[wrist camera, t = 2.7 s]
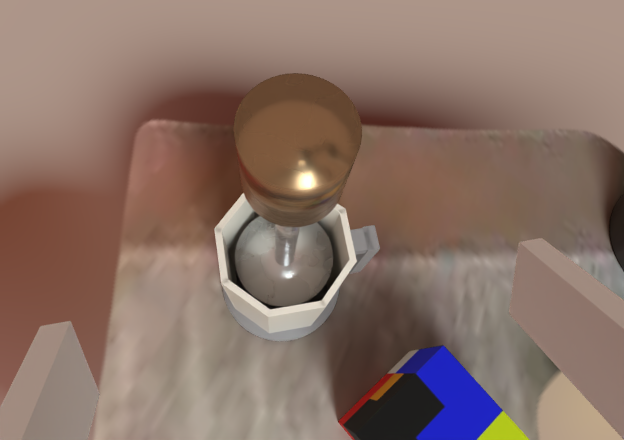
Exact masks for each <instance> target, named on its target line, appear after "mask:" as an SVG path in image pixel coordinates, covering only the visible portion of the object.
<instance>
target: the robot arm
mask: <svg viewBox="0 0 624 440" xmlns="http://www.w3.org/2000/svg"><path fill="white" fill-rule="evenodd" d="M610 236H611V242H612V246H613V249H614V252H615V255H616V257H617V259H618V261H619V263H620V265H621V267H622V268H623V270H624V194H623V195H622V196H621V197H620V199H619V200H618V201H617V203H616V205H615V207H614V209H613V212H612V215H611V221H610ZM509 314H510V315H511V316H512V318H513V319H514V320H515V321H516V322H517V323H518V324H519V325H520V326H521V327H522V329H523V330H524V331H525V332H526V333H527V334H528V335H529V336H530V337H531V338H532V340H533V341H534V342H535V343H536V344H537V345H538V346H539V347H540V348H541V349H542V350H543V352H544V353H545V354H546V355H547V356H548V357H549V358H550V359H551V360H552V361H553V363H554V364H555V365H556V366H557V367H558V368H559V369H560V370H561V371H562V372H563V374H564V375H565V376H566V377H567V378H568V379H569V380H570V381H571V382H572V383H573V384H574V385H575V387H576V388H577V389H578V390H579V391H580V392H581V393H582V394H583V395H584V397H585V398H586V399H587V400H588V401H589V402H590V403H591V404H592V405H593V406H594V408H595V409H596V410H598V412H599V413H600V414H601V415H602V416H603V417H604V419H605V420H606V421H607V422H608V423H609V424H610V425H611V426H612V427H613V428H614V429H615V431H616V432H617V433H618V434H619V435H620V436H621V437H622V438H623V439H624V300H623V299H621V298H620V297H619V296H617V295H616V294H615V293H613V292H612V291H611V290H609V289H608V288H607V287H605V286H604V285H603V284H602V283H600V282H599V281H598V280H596V279H595V278H594V277H592V276H591V275H590V274H588V273H587V272H586V271H584V270H583V269H582V268H581V267H579V266H578V265H577V264H575V263H574V262H573V261H571V260H570V259H569V258H567V257H566V256H565V255H563V254H562V253H561V252H559V251H558V250H557V249H556V248H554V247H553V246H552V245H550V244H549V243H548V242H546V241H545V240H544V239H542V238H539V239H533V240H528V241H522V242H519V246H518V252H517V259H516V266H515V273H514V280H513V287H512V294H511V301H510V308H509ZM99 395H100V394H99V391H98V389H97V386H96V384H95V381H94V379H93V376H92V374H91V371H90V369H89V366H88V364H87V361H86V359H85V356H84V354H83V351H82V349H81V346H80V344H79V341H78V339H77V336H76V333H75V331H74V329H73V326H72V323H71V321H68V322H62V323H57V324H51V325H45V326H40V329H39V331H38V333H37V335H36V336H35V338H34V340H33V343H32V345H31V346H30V349H29V351H28V352H27V355H26V357H25V359H24V361H23V363H22V365H21V367H20V369H19V371H18V373H17V375H16V377H15V379H14V381H13V383H12V385H11V387H10V389H9V391H8V393H7V395H6V397H5V399H4V401H3V403H2V405H1V407H0V440H88V436H89V432H90V428H91V425H92V421H93V417H94V414H95V410H96V406H97V402H98V399H99Z"/></svg>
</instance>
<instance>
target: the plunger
mask: <svg viewBox="0 0 624 440" xmlns="http://www.w3.org/2000/svg"><path fill="white" fill-rule="evenodd" d="M234 138H235V144H236V151H237V157H238V163H239V170H240V176H241V183H242V188H243V192H244V195H245V198H246V199H247V201H248V203H249V205H250V206H251V207H252V209H253V210H254V211H255V212H256V213H257V214H258V215H260V216H259V217H258V218H256V219H255V220H253V221H252V222H251V223H250V224H249V225H248V226H247V227H246V228H245V229H244V231H243V232H242V234H241V236H240V238H239V240H238V242H237V245H236V250H235V266H236V270H237V273H238V276H239V279H240V281H241V283H242V285H243V286H244V287H245V289H246V290H247V291H248V292H249V293H250V294H251V295H252V296H253V297H254V298H256V299H257V300H259V301H261V302H263V303H265V304H268V305H271V306H276V307H288V306H294V305H299V304H302V303H305V302H307V301H309V300H310V299H312V298H313V297H314V296H316V295H317V294H318V293H319V292H320V291H321V289H322V288H323V287H324V285H325V284H326V282H327V280H328V278H329V276H330V274H331V270H332V266H333V250H332V246H331V242H330V240H329V238H328V236H327V234H326V232H325V231H324V230H323V228H322V227H321V226H320V225H319V224H318V223H317V222H318V221H320V220H322V219H323V218H324V217H326V216H327V215H328V214H329V213H330V212H331V211H332V210H333V209H334V208H335V206H336V205H337V203H338V202H339V199H340V197H341V195H342V192H343V189H344V187H345V184H346V182H347V179H348V177H349V174H350V171H351V169H352V166H353V164H354V161H355V159H356V156H357V153H358V151H359V148H360V144H361V138H362V127H361V121H360V118H359V114H358V112H357V110H356V108H355V106H354V104H353V103H352V101H351V100H350V99H349V98H348V96H347V95H346V94H345V93H344V92H343V91H342V90H341V89H339V88H338V87H337V86H335V85H334V84H332V83H330V82H329V81H327V80H324V79H321V78H320V77H316V76H313V75H308V74H298V73H297V74H296V73H294V74H284V75H279V76H275V77H272V78H270V79H267V80H265V81H263V82H261V83H260V84H258V85H257V86H256V87H254V88H253V89H252V90H251V91H250V92H249V93H248V94H247V95H246V96H245V97H244V99H243V100H242V102H241V103H240V105H239V107H238V110H237V112H236V115H235V120H234Z"/></svg>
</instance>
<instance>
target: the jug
mask: <svg viewBox="0 0 624 440" xmlns="http://www.w3.org/2000/svg"><path fill="white" fill-rule="evenodd" d="M259 216H260V215H258V214H257V213H256V212H255V211H254V210H253V209H252V207H251V206H250V205H249V203H248V201H247V199H246V198H245V195H244V193H243V194H242V195H241V196H240V198H239V199H238V200H237V201H236V203H235V204H234V205H233V206H232V208H231V209H230V210H229V211H228V212H227V214H226V215H225V216H224V217H223V219H222V220H221V221H220V222H219V224H218V225H217V226H216V227H215V228H214V230H215V237H216V245H217V253H218V261H219V269H220V276H221V284H222V286H223V294H224V298H225V301H226V304H227V307H228V309H229V310H230V312H231V314H232V315H233V317H234V318H235V320H236V321H237V322H238V323H239V324H240V325H241V326H242V327H243V328H244V329H245V330H247V331H248V332H250V333H251V334H253V335H255V336H257V337H260V338H263V339H266V340H270V341H292V340H295V339H299V338H302V337H304V336H306V335H308V334H310V333H312V332H313V331H315V330H316V329H317V328H319V327H320V326H321V325H322V324H323V323H324V322H325V321H326V319H327V318H328V317H329V315H330V314H331V312H332V311H333V309H334V307H335V304H336V302H337V299H338V295H339V289H340V285H341V284H342V282H343V281H344V279H345V278H346V276H347V275H348V273H350V274H351V273H357V272H360V271H361V270H362V269H363V268H364V267H365V266H366V264H367V263H368V262H369V261H370V260H371V259H372V257H373V256H374V255H375V254H376V253H377V252H378V251H379V249H380V247H379V242H378V238H377V234H376V230H375V225H372V226H366V227H362V228H361V229H354V230H350V228H349V223H348V218H347V214H346V209H345V208H343V207H342V206H340V205H339V204H337V205H336V206H335V208H334V209H333V210H332V211H331V212H330V213H329V214H328V215H327V216H326V217H324V218H323V219H322V220H320V221H318V222H317V223H318V224H319V225H320V226H321V227H322V228H323V230H324V231H325V232H326V234H327V236H328V238H329V240H330V242H331V246H332V250H333V266H332V270H331V274H330V276H329V278H328V280H327V282H326V284H325V285H324V287H323V288H322V289H321V291H320V292H319V293H318V294H317V295H316V296H314V297H313V298H312V299H310V300H309V301H307V302H305V303H302V304H299V305H294V306H288V307H276V306H271V305H268V304H265V303H263V302H261V301H259V300H257V299H256V298H254V297H253V296H252V295H251V294H250V293H249V292H248V291H247V290H246V289H245V287H244V286H243V285H242V283H241V281H240V279H239V276H238V273H237V270H236V266H235V250H236V245H237V242H238V240H239V238H240V236H241V234H242V232H243V231H244V229H245V228H246V227H247V226H248V225H249V224H250V223H251V222H252V221H253V220H255V219H256V218H258V217H259Z"/></svg>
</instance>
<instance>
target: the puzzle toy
mask: <svg viewBox="0 0 624 440" xmlns="http://www.w3.org/2000/svg"><path fill="white" fill-rule="evenodd" d="M338 422H339V424H340V425H341V426H342V427H343V428H344V430H345V431H346V432H347V433H348V435H349V436H350V437H351V438H352V439H353V440H529V439H528V438H527V437H526V435H525V434H524V433H523V432H522V431H521V430H520V429H519V428H518V427H517V426H516V424H515V423H514V422H513V421H512V420H511V419H510V418H509V417H508V416H507V415H506V413H505V412H504V411H503V410H502V409H501V408H500V407H499V406H498V405H497V404H496V402H495V401H494V400H493V399H492V398H491V397H490V396H489V395H488V394H487V393H486V391H485V390H484V389H483V388H482V387H481V386H480V385H479V384H478V383H477V382H476V380H475V379H474V378H473V377H472V376H471V375H470V374H469V373H468V372H467V371H466V369H465V368H464V367H463V366H462V365H461V364H460V363H459V362H458V361H457V360H456V358H455V357H454V356H453V355H452V354H451V353H450V352H449V351H448V350H447V349H446V347H445V346H444V345H442V346H436V347H430V348H424V349H418V350H412V351H409V352H408V353H407V354H406V355H405V356H404V357H403V358H402V359H401V360H400V361H399V362H398V363H397V364H396V365H395V366H394V367H393V368H392V369H391V370H390V371H389V372H388V373H387V374H386V375H385V376H384V377H383V378H382V379H381V380H380V381H379V382H378V383H377V384H376V385H375V386H374V387H373V388H372V389H370V390H369V391H368V392H367V393H366V394H365V395H364V396H363V397H362V398H361V399H360V400H359V401H358V402H357V403H356V404H355V405H354V406H353V407H352V408H351V409H350V410H349V411H348V412H347V413H346V414H345V415H344V416H343V417H342V418H341V419H340V420H339V421H338Z"/></svg>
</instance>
